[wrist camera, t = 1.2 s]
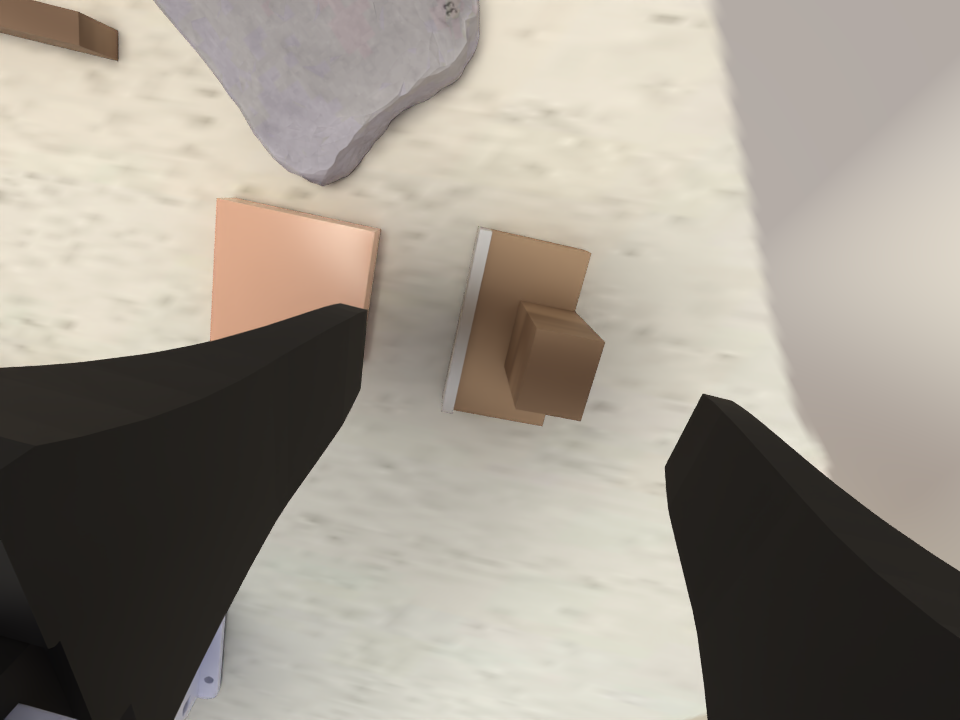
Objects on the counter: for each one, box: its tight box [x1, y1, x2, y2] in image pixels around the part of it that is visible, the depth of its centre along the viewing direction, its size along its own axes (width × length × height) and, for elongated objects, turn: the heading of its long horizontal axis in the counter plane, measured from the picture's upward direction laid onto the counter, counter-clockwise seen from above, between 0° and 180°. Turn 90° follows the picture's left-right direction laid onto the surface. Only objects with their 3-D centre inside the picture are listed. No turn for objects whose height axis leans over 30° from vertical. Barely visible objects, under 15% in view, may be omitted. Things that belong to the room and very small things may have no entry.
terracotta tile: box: [210, 198, 381, 341], centre depth 21 cm, size 6×6×2 cm
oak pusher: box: [441, 226, 605, 426], centre depth 20 cm, size 8×5×6 cm, turn 168°
